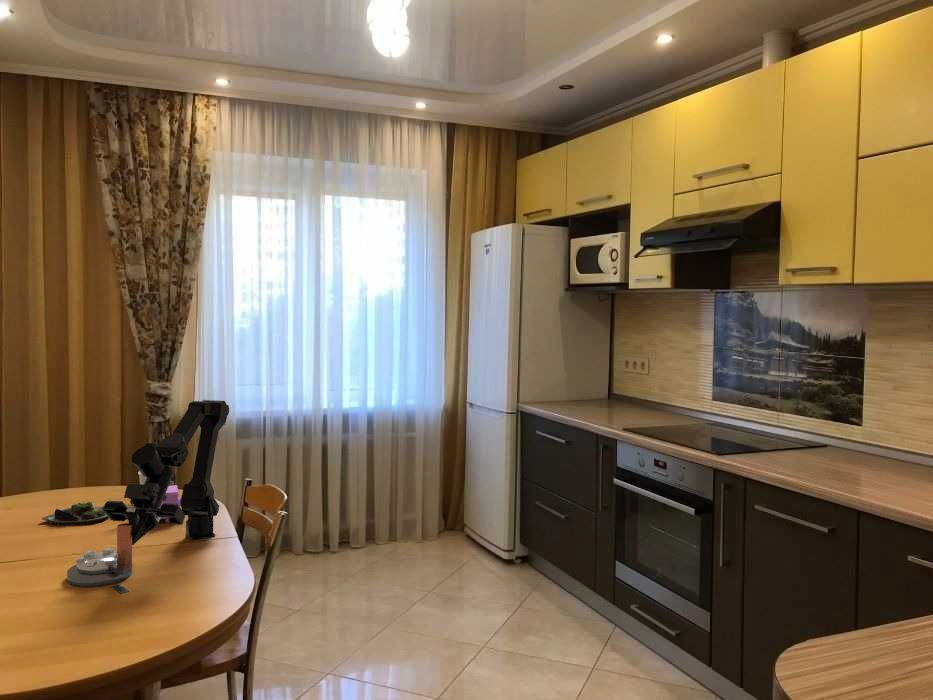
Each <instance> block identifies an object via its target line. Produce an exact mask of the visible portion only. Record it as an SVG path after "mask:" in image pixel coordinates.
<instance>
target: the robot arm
mask: <svg viewBox="0 0 933 700" xmlns="http://www.w3.org/2000/svg"><path fill="white" fill-rule="evenodd" d="M229 414H230V406H229V404H227V402H226V401H225V400H218V399H217V400H215V399H214V400H213V399H203V400H201V401H200V400H193V401H189V403H188V405H187V410H186V411H185V413H184V415H183V416H182V417H181V418H180V421H179V422H178V423H177V425H176V426H175V428H174V429H173V431H172V433H171V434H170V435H168V436H167V437H164V438H163V439H162V440H160V441H159V443H158V444H157V445H156V443H154V442H146V443H145V445H144V446H142V447H140V448H138V449H137V450H135V451H134V452H133V453H132V454H131V462H132V463H133V465H134V466H135V468H136V469H137V470H138V472H139V471H140V473H141V474H142V475H143V476H144V477H147V478H146V480H145V482H144V484H140V483H139V484H130V483H129V484H126V488H125V492H124V496H123V498H124V499H129V503H130V504H131V505H126V504H125V502H123V500H109V499H108V501H105V503H104V505H102V506H103V508H102V510H103V511H104V513H105V514H106V515H107V516H108V518H109V520H110V521H113V522H126V521H128V522H127V523H130V524H132V546H134V545H135V544H136V543H137V542H138V541H140V540H141V539H142V538H143V537H144V536H145V535H147V533H150V531H152V530H153V529H154V528H156V527H160V520H161V519H160V518H162V517H170V518H169V522H168V523H170V524H171V525H177V526H178V525H180V526H182V525H183V523H184V521H185V535H186V536H187V537H188V538H190V539H191V540H192V541H197V540H201V539H206V538H213V537H216V533H214V517H216V516H217V515H218V514H219V511H220V510H219V509H220V504H219V502H218V501H217V500H216V499H215V497H214V495H215V490H214V488H213V485H212V483H211V475H212V470H213V465H214V458H215V455H216V454H215V452H216V447H217V442H218V436H219V432H220V430H221V429H222V428H223V427H224V425H226V422H227V418H228V416H229ZM199 427H200V434H199V437H198V443H197V450H196V456H195V461H194V467H193V471H192V477H191V479H190V481H189V482H188V483H185V484H184V485H183V486H182V493H181V496H180V497H181V500H180V504H181V506H180V507H179V505H178V504H166V503H164V504H162V506H161V508H160V505H161V503H162V501H166V498H167V497H166V495H165V493H166V491H167V489H168V486H170V484H171V482H175V481H176V475H175V473H174V470H172V468H170V467H175V468H176V467H177V468H180V467H182V466H183V465H184V463H185V462H186V460H187V457H188V455H189V448H188V446H189V443H190V441H192V438H193V437H194V435H195V434H196V432H197V430H198V428H199ZM133 504H134V505H133ZM159 508H160V509H159ZM186 516H187V519H186V520H185V518H186Z"/></svg>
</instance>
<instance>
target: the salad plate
mask: <svg viewBox="0 0 933 700" xmlns="http://www.w3.org/2000/svg"><path fill="white" fill-rule="evenodd" d="M103 506H104V505H100V506H99V505H97V506H95V505H94V504H93V502H90V501H88V502H86V501H83V502H78V503H75V504H71V505H70V507H66V508H60V509H59V508H56V509H55V510H54V513H53V514H50V515H46V516H44V517H41V520H42V521H45V522H48V523H50V524H51V525H53V526H65V525H69V526H83V525H84V526H86V525H93V524H98V523H102V522H104V521H106V520H107V519H108V518H109V517H108V516H107V515H106V514H105V513H104V511H103V510H102V508H103Z"/></svg>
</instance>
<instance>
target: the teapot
mask: <svg viewBox="0 0 933 700" xmlns="http://www.w3.org/2000/svg"><path fill="white" fill-rule="evenodd" d="M125 491H126V490H125ZM125 491H123V493H125ZM165 495H166V497H167V498H166V501H162V503H161V505H160V508H161V506H162V504H164V503H166V504H178V505H179V507H180V508H181V504H180V500H181V496H180V497H179V489H178V485H176V484H175V485H169V486H168V489H167V491H166V493H165ZM132 506H134V504H132ZM160 508H159V509H160ZM169 518H170V517H162V518H160V520H164V521H165V523H170V522H169Z"/></svg>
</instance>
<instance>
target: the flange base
mask: <svg viewBox="0 0 933 700" xmlns="http://www.w3.org/2000/svg"><path fill="white" fill-rule="evenodd" d="M132 574H133V571H132V572H130V573H127V574H124V575H121V574H118V573H115V572H112V571H111V572H107V573H102V574H82V573H79V572H78V571H77V563H76V564H75V565H72V566H71V567H69V568H68V569H67V571H66V583H67V584H69V585H71V586H73V587H79V588H98V587H105V586H110V585H113V586H111V588H112V589H113V590H115V591H116V592H118V593H120V594H124V593H129V592H130V590H129V589H128V588H125V587H124V586H123V585H121V584H118V585H114V584H117V583H120V582H122V581H125V580H126V579H128V578H130V577H131V575H132Z"/></svg>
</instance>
